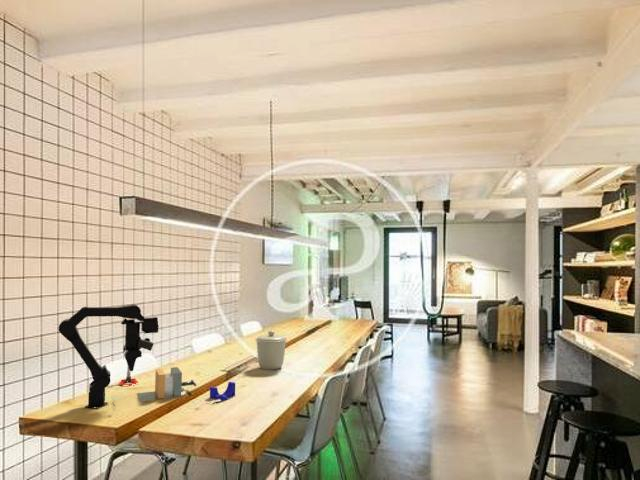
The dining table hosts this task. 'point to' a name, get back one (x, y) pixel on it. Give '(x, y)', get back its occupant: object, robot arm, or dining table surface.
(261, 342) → the canister
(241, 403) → the dining table surface
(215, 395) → the blue arch block
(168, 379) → the steel block
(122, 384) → the red handwheel with stem
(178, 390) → the vise
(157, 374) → the block
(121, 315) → the robot arm
